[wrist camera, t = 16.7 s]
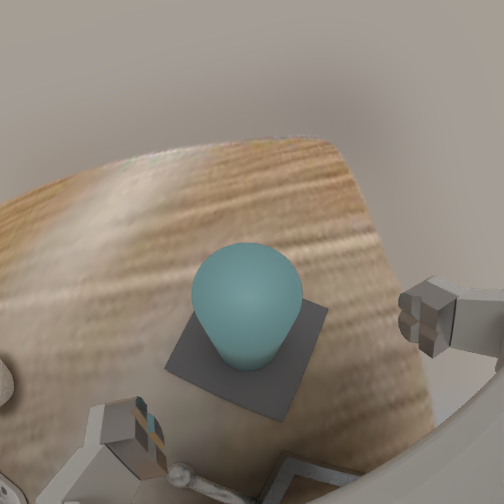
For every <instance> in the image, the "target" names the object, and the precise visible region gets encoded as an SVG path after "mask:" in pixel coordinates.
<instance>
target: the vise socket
mask: <svg viewBox="0 0 504 504" xmlns="http://www.w3.org/2000/svg"><path fill="white" fill-rule="evenodd" d="M167 470H168V475H166V478H167V480H168V482H169V483H170V484H171V485H172V486H174V487H176V488H180V489H184V488H190V489H192V490H194V491H196V492H198V493H201V494H203V495H205V496H208V497H210V498H212V499H215V500H217V501H220V502H222V503H225V504H279V503H280V501H281V499H282V498H283V496H284V494H285V492H286V490H287V488H288V487H289V485H290V483H291V481H292V479H293V477H294V475H295V474H296V475H299V476H303V477H306V478H310V479H313V480H317V481H321V482H325V483H329V484H333V485H337V486H344V485H346V484H348V483H350V482H352V481H354V480H356V479H358V478H360V477H361V476H363V475H365V474H366V473H361V472H356V471H352V470H348V469H344V468H340V467H336V466H332V465H328V464H325V463H321V462H318V461H314V460H311V459H307V458H304V457H301V456H298V455H295V454H292V453H289V452H286V451H282V453H281V455H280V457H279V459H278V461H277V463H276V465H275V467H274V469H273V471H272V472H271V474H270V476H269V478H268V480H267V482H266V484H265V486H264V488H263V489H262V491H261V493H260V495H259V497H258V498H257V499H256V498H254V497H251V496H248V495H245V494H242V493H240V492H237V491H234V490H232V489H229V488H227V487H224V486H222V485H219V484H217V483H215V482H212V481H210V480H208V479H205V478H203V477H201V476H199V475H197V474H195V471H194V470H193V468H192V467H191V466H189V465H188V464H186V463H181V462H177V463H174V464H172V465H170V466H169V467H168V468H167Z"/></svg>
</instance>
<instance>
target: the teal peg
mask: <svg viewBox="0 0 504 504" xmlns="http://www.w3.org/2000/svg"><path fill="white" fill-rule="evenodd" d="M302 293H303V292H302V285H301V281H300V278H299V275H298V273H297V271H296V269H295V268H294V266H293V265H292V264H291V262H290V261H289V260H288V259H287V258H286V257H285V256H284V255H282V254H281V253H280V252H278V251H276V250H275V249H273V248H270V247H268V246H265V245H262V244H257V243H237V244H233V245H229V246H226V247H224V248H222V249H220V250H218V251H216V252H215V253H213V254H212V255H211V256H209V257H208V258H207V259H206V260H205V261H204V263H203V264H202V265H201V266H200V268H199V270H198V271H197V273H196V275H195V278H194V281H193V286H192V304H193V307H194V311H195V313H196V316H197V318H198V319H199V321H200V323H201V324H202V326H203V328H204V330H205V331H206V333H207V335H208V336H209V338H210V340H211V341H212V343H213V345H214V346H215V348H216V350H217V351H218V353H219V355H220V356H221V358H222V359H223V360H224V362H226V363H227V364H228V365H229V366H231V367H232V368H234V369H237V370H241V371H255V370H258V369H261V368H263V367H264V366H266V365H267V364H268V363H270V362H271V360H272V359H273V358H274V356H275V355H276V353H277V351H278V350H279V348H280V346H281V344H282V343H283V341H284V339H285V338H286V336H287V334H288V332H289V330H290V329H291V327H292V325H293V323H294V322H295V320H296V318H297V316H298V314H299V311H300V308H301V304H302Z"/></svg>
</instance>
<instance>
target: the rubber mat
mask: <svg viewBox="0 0 504 504" xmlns="http://www.w3.org/2000/svg"><path fill="white" fill-rule="evenodd" d="M327 311H328V308H325V307H323V306H320V305H318V304H315V303H313V302H310V301H308V300H305V299H303V298H302V304H301V308H300V311H299V314H298V316H297V318H296V320H295V322H294V323H293V325H292V327H291V329H290V330H289V332H288V334H287V336H286V338H285V339H284V341H283V343H282V344H281V346H280V348H279V350H278V351H277V353H276V355H275V356H274V358H273V359H272V360H271V362H270V363H268V364H267V365H266V366H264V367H263V368H261V369H258V370H255V371H241V370H237V369H234V368H232V367H231V366H229V365H228V364H227V363H226V362H224V360H223V359H222V358H221V356H220V355H219V353H218V351H217V350H216V348H215V346H214V345H213V343H212V341H211V340H210V338H209V336H208V335H207V333H206V331H205V330H204V328H203V326H202V324H201V323H200V321H199V319H198V318H197V316H196V313H195V311H194V312H193V314H192V316H191V318H190V320H189V322H188V323H187V325H186V327H185V329H184V331H183V333H182V335H181V337H180V339H179V341H178V343H177V345H176V346H175V348H174V350H173V352H172V354H171V356H170V358H169V360H168V362H167V364H166V366H165V368H164V369H166V370H168V371H170V372H172V373H173V374H175V375H177V376H179V377H181V378H183V379H185V380H187V381H189V382H191V383H193V384H195V385H197V386H199V387H201V388H203V389H205V390H207V391H209V392H211V393H213V394H216V395H218V396H220V397H222V398H224V399H226V400H229V401H231V402H233V403H235V404H238V405H240V406H242V407H245V408H247V409H250V410H252V411H254V412H257V413H259V414H262V415H264V416H267V417H269V418H272V419H275V420H277V421H280V422H283V420H284V418H285V415H286V413H287V411H288V409H289V407H290V404H291V402H292V400H293V397H294V395H295V393H296V391H297V388H298V386H299V384H300V381H301V379H302V376H303V374H304V372H305V369H306V367H307V364H308V362H309V359H310V357H311V354H312V352H313V349H314V346H315V344H316V341H317V339H318V336H319V333H320V331H321V328H322V325H323V323H324V320H325V317H326V314H327Z"/></svg>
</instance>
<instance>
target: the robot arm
mask: <svg viewBox="0 0 504 504" xmlns="http://www.w3.org/2000/svg"><path fill="white" fill-rule="evenodd" d="M398 306H399V307H400V309H401V310H402V311H401V313H400V315H399V317H398V324H399V329H400V331H401V334H402V335H403V336H404V338H405V339H406V340H408V341H409V342H411V343H418V346H419V349H420V350H421V351H423V352H424V353H425V354H427V355H428V356H430V357H431V358H434V357H436V356H437V355H439V354H440V353H441V352H443V351H444V350H446V349H447V348H449V347H451V348H454V349H459V350H464V351H468V352H472V353H477V354H481V355H486V356H491V357H496V358H498V360H497V363H496V366H495V372H497V373H496V374H495V375H494V376H493V377H492V378H491V379H490V380H489V381H488V382H487V383H486V384H485V385H484V386H483V387H482V388H481V389H480V390H479V391H478V392H477V393H476V394H475V395H474V396H473V397H472V398H471V399H470V400H468V401H467V402H466V403H465V404H464V405H463V406H462V407H461V408H459V409H458V410H457V411H456V412H455V413H454V414H452V415H451V416H450V417H449V418H448V419H446V420H445V421H444V422H443V423H441V424H440V425H439V426H438V427H436V428H435V429H434V430H432V431H431V432H430V433H428V434H427V435H426V436H424V437H423V438H422V439H420V440H419V441H417V442H416V443H415V444H413V445H412V446H410V447H409V448H407V449H406V450H404V451H403V452H401V453H400V454H398V455H397V456H395V457H394V458H392V459H390V460H389V461H387V462H386V463H384V464H382V465H381V466H379V467H377V468H376V469H374V470H372V471H370V472H369V473H367V474H365V475H363V476H361V477H360V478H358V479H356V480H354V481H352V482H350V483H348V484H346V485H344V486H342V487H340V488H338V489H336V490H334V491H332V492H330V493H328V494H326V495H323V496H321V497H319V498H317V499H314V500H312V501H310V502H307V503H305V504H504V289H474V288H471V289H469V290H467V289H465V288H463V287H460V286H458V285H456V284H454V283H452V282H450V281H447V280H445V279H443V278H441V277H438V276H431V277H429V278H427V279H426V280H424V281H423V282H422V283H420V284H418V285H416V286H414V287H413V288H411V289H409V290H407V291H405V292H403V293H402V294H400V296H399V299H398ZM164 445H165V444H164V436H163V433H162V430H161V427H160V425H159V423H158V421H157V420H156V418H155V417H154V416H153V415H151V414H149V413H147V405H146V404H145V402H144V401H143V399H142V398H141V397H139V396H136V397H132V398H127V399H123V400H118V401H113V402H108V403H104V404H99V405H95V406H92V407H91V408H90V411H89V416H88V422H87V427H86V433H85V439H84V445H83V447H81V448H78V449H77V451H76V452H75V453H74V454H73V455H72V456H71V458H70V459H69V460H68V461H67V462H66V464H65V465H64V466H63V467H62V468H61V470H60V471H59V472H58V473H57V474H56V475H55V477H54V478H53V479H52V480H51V481H50V483H49V484H48V485H47V486H46V487H45V489H44V490H43V491H42V492H41V493H40V494H39V496H38V497H37V498H36V500H35V504H131V502H132V500H133V498H134V496H135V494H136V492H137V490H138V488H139V486H140V484H141V480H146V479H151V478H156V477H161V476H165V475H168V470H167V462H166V456H165V455H164V454H163V453H162V451H161V450H162V448H163V447H164ZM0 504H27V502H26V499H25V497H24V495H23V493H22V492H21V491H20V490H19V488H17V487H16V486H15V485H14V484H13V483H11V482H10V481H9V480H8V479H7V478H5V477H4V476H3V475H2V474H1V473H0Z"/></svg>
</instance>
